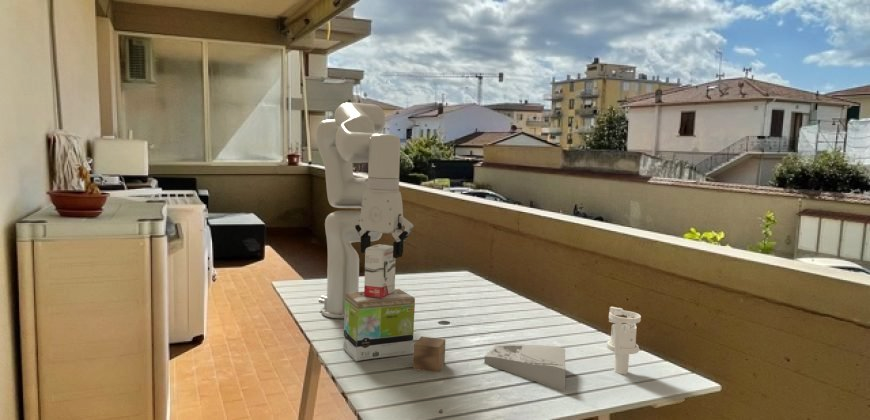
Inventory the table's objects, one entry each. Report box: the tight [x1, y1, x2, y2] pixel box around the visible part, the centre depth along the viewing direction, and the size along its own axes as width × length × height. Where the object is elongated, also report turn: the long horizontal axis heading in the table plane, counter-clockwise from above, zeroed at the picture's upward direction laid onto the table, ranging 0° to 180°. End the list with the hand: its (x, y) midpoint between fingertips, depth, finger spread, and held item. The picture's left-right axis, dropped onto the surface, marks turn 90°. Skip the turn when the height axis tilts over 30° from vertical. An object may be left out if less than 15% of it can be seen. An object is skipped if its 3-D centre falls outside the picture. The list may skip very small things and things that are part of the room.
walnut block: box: [412, 336, 446, 373], centre depth 130 cm, size 6×6×6 cm
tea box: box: [342, 288, 416, 362], centre depth 138 cm, size 15×10×15 cm
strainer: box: [606, 306, 642, 375], centre depth 130 cm, size 7×7×15 cm
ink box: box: [363, 243, 396, 298], centre depth 137 cm, size 9×5×12 cm, turn 162°
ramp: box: [483, 343, 567, 392], centre depth 131 cm, size 28×16×5 cm, turn 28°
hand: (381, 254), depth 137 cm, fingers open, 9 cm apart
